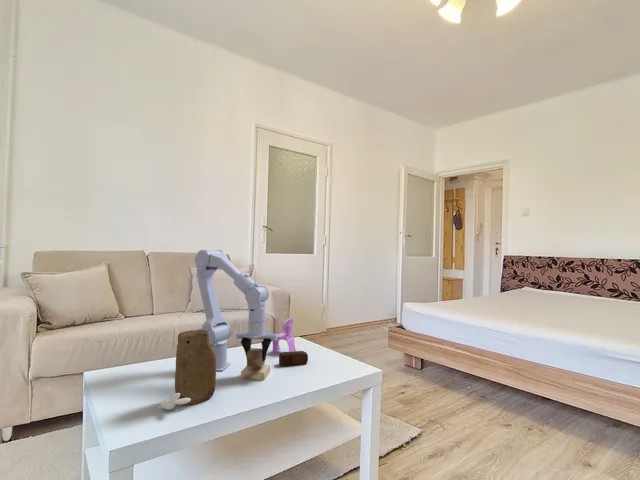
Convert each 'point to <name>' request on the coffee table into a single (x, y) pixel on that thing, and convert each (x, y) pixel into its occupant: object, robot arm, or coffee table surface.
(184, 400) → the rabbit figurine
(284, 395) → the coffee table surface
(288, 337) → the toy chair
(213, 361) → the brown rounded upright slab
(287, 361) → the brick
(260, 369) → the oak base
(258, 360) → the walnut cube
